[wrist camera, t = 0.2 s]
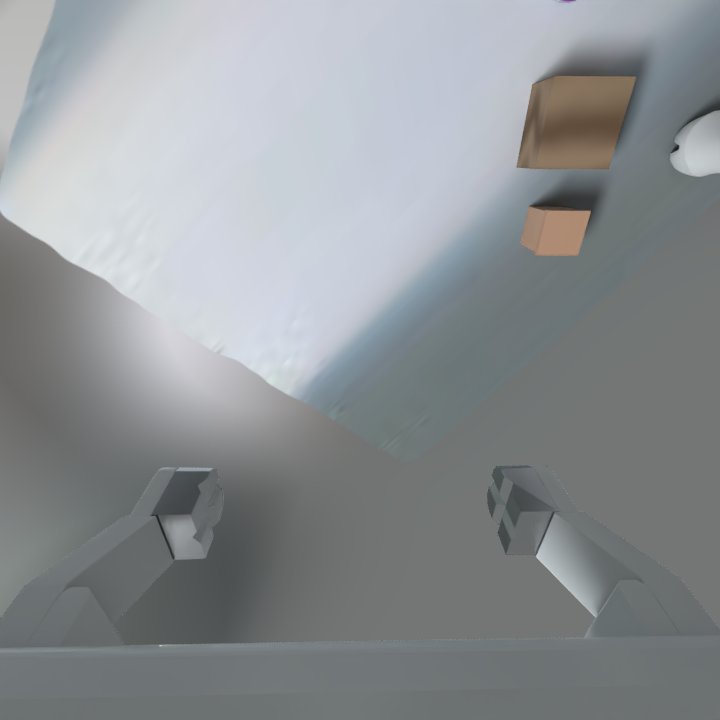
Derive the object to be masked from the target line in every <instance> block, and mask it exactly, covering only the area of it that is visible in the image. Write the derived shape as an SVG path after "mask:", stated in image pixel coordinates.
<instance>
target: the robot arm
mask: <svg viewBox="0 0 720 720" xmlns="http://www.w3.org/2000/svg"><path fill="white" fill-rule="evenodd" d="M492 477H493V480H494V482H493V483H492V484H491V485H490V486H489V488H488V492H487V504H488V509H489V512H490V515H491V518H492V519H493V520H494V521H495V522H496V523H497V524H498V525H500V526H499V529H498V532H497V533H498V536H499V538H500V541H501V544H502V546H503V549H504V551H505V554H506V555H537V556H536V557H537V558H538V559H539V560H540V561H541V562H542V564H544V566H546V568H547V569H548V570H549V571H550V572H551V573H552V574H553V575H554V576H556V578H557V579H558V580H559V581H560V582H561V583H562V584H563V585H564V586H565V587H566V588H567V589H568V590H569V591H570V592H571V593H572V594H573V595H574V596H575V597H576V598H577V599H578V600H579V601H580V602H581V603H582V604H583V605H584V606H585V607H586V608H587V609H588V610H589V611H590V612H591V613H592V614H593V615H594V616H595V617H596V618H595V620H594V621H593V623H592V625H591V626H590V628H589V629H588V631H587V633H586V635H585V637H583V638H528V639H527V638H526V639H467V640H406V641H349V642H292V643H234V644H181V645H180V644H178V645H125V646H124V643H123V640H122V638H121V637H120V635H119V633H118V632H117V630H116V629H115V627H114V626H113V624H114V623H115V622H116V621H117V620H118V619H119V618H120V617H121V616H122V614H124V613H125V612H126V610H128V609H129V608H130V607H131V606H132V604H133V603H134V602H135V601H136V600H137V599H138V598H139V597H140V596H141V595H142V594H143V593H144V592H145V591H146V590H147V589H148V588H149V587H150V586H151V585H152V584H153V583H154V582H155V580H157V578H158V577H159V576H160V575H161V574H162V573H163V572H164V571H165V570H166V569H167V568H168V567H169V566H170V565H171V564H172V563H173V562H174V560H176V559H198V558H199V559H201V558H206V555H207V552H208V550H209V547H210V544H211V542H212V539H213V532H212V529H211V528H212V527H213V526H214V525H215V524H217V523H218V522H219V519H220V516H221V513H222V508H223V491H222V488H221V487H219V485H217V481H218V479H219V476H218V472H217V469H214V468H161V469H160V470H158V471H157V472H156V474H155V475H154V477H153V479H152V480H151V482H150V483H149V485H148V487H147V488H146V490H145V492H144V493H143V495H142V496H141V498H140V500H139V502H138V503H137V504H136V506H135V508H134V509H133V511H132V513H131V514H130V516H123V517H122V518H121V519H119V520H118V521H116V522H115V523H114V524H112V525H111V526H109V527H108V528H106V529H105V530H104V531H102V532H101V533H99V534H98V535H96V536H95V537H94V538H92V539H91V540H89V541H88V542H86V543H85V544H84V545H82V546H81V547H79V548H78V549H76V550H75V551H74V552H72V553H71V554H69V555H68V556H66V557H65V558H64V559H62V560H61V561H59V562H58V563H57V564H55V565H54V566H53V567H51V568H49V569H48V570H46V571H45V572H44V573H42V574H41V575H39V576H38V577H37V578H35V579H34V580H32V581H31V582H29V583H28V584H27V585H25V586H24V587H23V589H22V590H21V591H20V593H19V594H18V595H17V596H16V598H15V599H14V600H13V602H12V603H11V604H10V606H9V607H8V608H7V610H6V611H5V612H4V614H3V615H2V616H1V617H0V720H720V629H719V627H718V626H717V625H716V623H715V622H714V621H713V620H712V618H711V617H710V616H709V614H708V613H707V612H706V611H705V609H704V608H703V607H702V605H701V604H700V603H699V601H698V600H697V599H696V598H695V596H694V595H693V594H692V592H691V591H690V590H689V589H688V587H687V586H686V585H685V583H684V582H683V581H682V580H681V578H680V577H678V576H677V575H675V574H674V573H672V572H671V571H670V570H668V569H667V568H665V567H664V566H662V565H661V564H659V563H658V562H656V561H655V560H653V559H652V558H650V557H649V556H648V555H646V554H645V553H643V552H642V551H640V550H639V549H637V548H636V547H634V546H633V545H632V544H630V543H629V542H627V541H626V540H625V539H623V538H622V537H620V536H619V535H617V534H616V533H614V532H613V531H611V530H610V529H608V528H607V527H606V526H604V525H603V524H601V523H600V522H598V521H597V520H595V519H594V518H593V517H591V516H589V515H588V514H587V513H585V512H579V511H578V509H577V508H576V506H575V504H574V503H573V501H572V500H571V498H570V497H569V495H568V494H567V492H566V491H565V489H564V487H563V486H562V484H561V483H560V481H559V480H558V478H557V477H556V475H555V474H554V472H553V470H552V469H551V468H550V467H549V466H547V465H542V466H496V467H495V468H494V469H493V473H492Z"/></svg>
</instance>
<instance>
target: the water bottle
mask: <svg viewBox="0 0 720 720" xmlns="http://www.w3.org/2000/svg"><path fill="white" fill-rule="evenodd" d="M674 142H675V143H676V144H678V145H679V149H678V150H676V151H675V152H673V153H671V154H670V162H671V163H672V165H673V167H674V168H675V169H676V170H678V171H680V172H682V173H684V174H687V175H691V176H698V177H701V176H706V175H709V174H713V173H720V110H718V111H713V112H711V113H709V114H707V115H704V116H702V117H700V118H697V119H695V120H693V121H692V122H690V123H688V124H687V125H686V126H684V127H683V128H682V129H681V130H680V131H679V132H678V134H677V135H676V137H675V140H674Z"/></svg>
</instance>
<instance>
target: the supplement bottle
mask: <svg viewBox="0 0 720 720" xmlns="http://www.w3.org/2000/svg"><path fill="white" fill-rule="evenodd" d="M555 1H557V2H561V3H568V2H572V1H575V0H555Z"/></svg>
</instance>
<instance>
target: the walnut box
mask: <svg viewBox="0 0 720 720" xmlns="http://www.w3.org/2000/svg"><path fill="white" fill-rule="evenodd" d="M635 80H636V76H554V77H551V78H549V79H546V80H543V81H541V82H538V83H536V84H533V85H532V89H531V94H530V100H529V105H528V110H527V115H526V121H525V126H524V131H523V136H522V141H521V147H520V152H519V157H518V162H517V168H530V169H609V166H610V163H611V160H612V156H613V153H614V150H615V146H616V143H617V140H618V137H619V133H620V130H621V127H622V123H623V120H624V117H625V113H626V110H627V107H628V103H629V100H630V97H631V94H632V90H633V87H634V84H635Z"/></svg>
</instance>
